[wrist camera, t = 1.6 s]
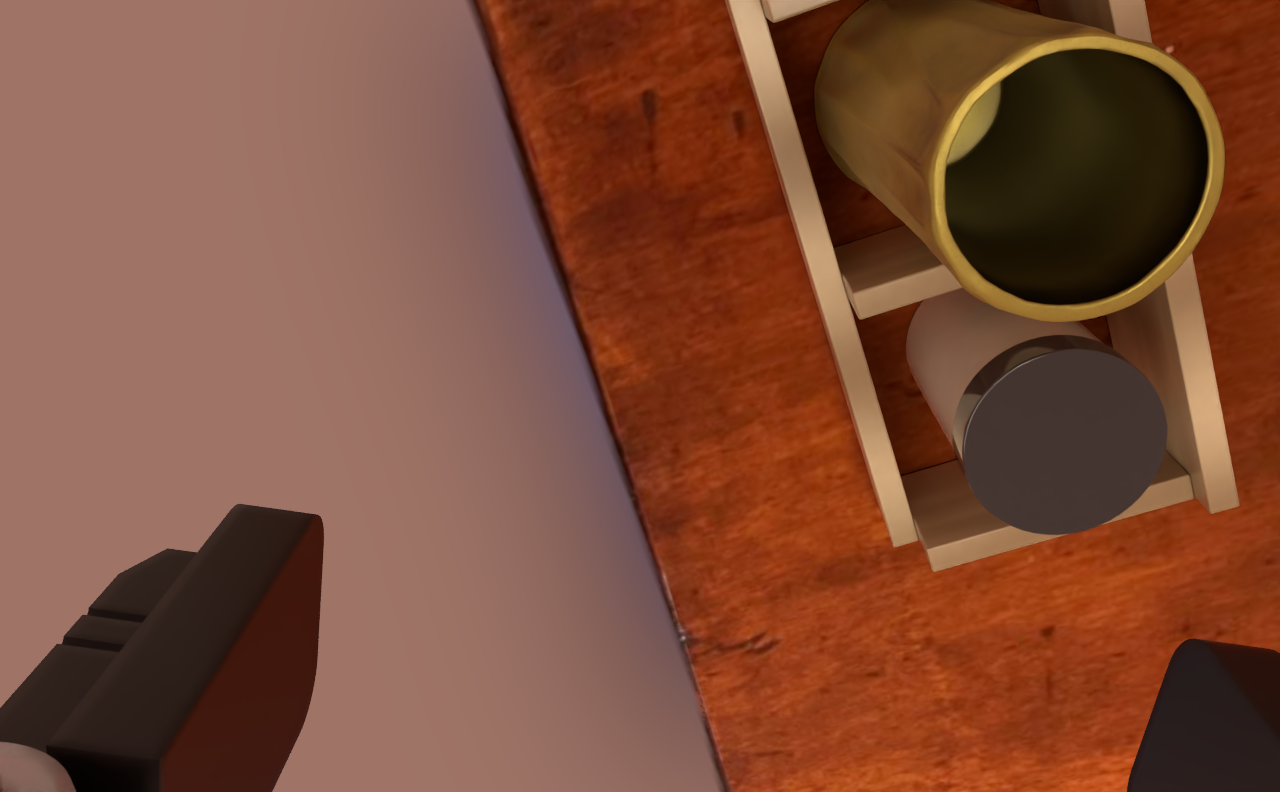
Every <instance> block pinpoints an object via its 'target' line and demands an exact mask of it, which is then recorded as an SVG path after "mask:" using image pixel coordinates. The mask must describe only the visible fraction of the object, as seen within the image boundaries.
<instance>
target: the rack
mask: <svg viewBox="0 0 1280 792" xmlns="http://www.w3.org/2000/svg"><path fill="white" fill-rule="evenodd" d="M836 1H839V0H725V3H726V6H727V10H728V13H729V16H730V20H731V23H732V26H733V30H734V33H735V36H736V39H737V43H738V46H739V49H740V53H741V56H742V59H743V62H744V66H745V69H746V72H747V76H748V79H749V82H750V85H751V89H752V92H753V95H754V99H755V102H756V105H757V108H758V112H759V115H760V118H761V122H762V125H763V128H764V132H765V135H766V138H767V141H768V145H769V148H770V151H771V155H772V158H773V161H774V164H775V168H776V171H777V174H778V178H779V181H780V184H781V187H782V191H783V194H784V197H785V201H786V204H787V207H788V211H789V214H790V217H791V220H792V224H793V227H794V230H795V234H796V237H797V240H798V243H799V247H800V250H801V253H802V257H803V260H804V263H805V266H806V270H807V273H808V276H809V280H810V283H811V286H812V290H813V293H814V296H815V299H816V303H817V306H818V309H819V313H820V316H821V319H822V322H823V326H824V329H825V332H826V336H827V339H828V342H829V345H830V349H831V352H832V355H833V359H834V362H835V365H836V369H837V372H838V375H839V378H840V382H841V385H842V388H843V392H844V395H845V398H846V401H847V405H848V408H849V411H850V415H851V418H852V421H853V424H854V428H855V431H856V434H857V438H858V441H859V444H860V448H861V451H862V454H863V457H864V461H865V464H866V467H867V471H868V474H869V477H870V480H871V484H872V487H873V490H874V494H875V497H876V500H877V503H878V506H879V509H880V512H881V514H882V517H883V520H884V522H885V525H886V528H887V531H888V533H889V536H890V539H891V541H892V544H893V546H894V547H897V546H901V545H904V544H908V543H911V542H915V541H918V540H920V542H921V545H922V547H923V550H924V552H925V554H926V557H927V559H928V562H929V564H930V566H931V569H932V571H933V572H936V571H940V570H943V569H947V568H950V567H954V566H957V565H961V564H964V563H968V562H971V561H975V560H978V559H982V558H986V557H989V556H993V555H996V554H1000V553H1003V552H1007V551H1010V550H1014V549H1017V548H1021V547H1024V546H1028V545H1032V544H1035V543H1039V542H1042V541H1046V540H1049V539H1053V538H1056V537H1060V536H1063V535H1067V534H1063V535H1044V534H1036V533H1031V532H1027V531H1023V530H1020V529H1017V528H1015V527H1012V526H1010V525H1008V524H1006V523H1004V522H1002V521H1000V520H999V519H997V518H996V517H995V516H993V515H992V514H991V513H989V512H988V511H987V510H986V509H985V508H984V507H983V506H982V505H981V503H980V502H979V501H978V499H977V498H976V497H975V495H974V494H973V492H972V490H971V488H970V486H969V485H968V483H967V481H966V479H965V477H964V475H963V474H962V472H961V470H960V468H959V466H958V463H957V460H954V461H951V462H948V463H944V464H941V465H937V466H934V467H931V468H927V469H924V470H921V471H917V472H914V473H910V474H907V475H904V476H900V473H899V469H898V466H897V463H896V459H895V456H894V452H893V449H892V446H891V442H890V439H889V435H888V432H887V429H886V425H885V422H884V418H883V415H882V412H881V408H880V405H879V401H878V398H877V395H876V391H875V388H874V384H873V381H872V378H871V374H870V371H869V367H868V364H867V361H866V357H865V354H864V350H863V347H862V344H861V340H860V337H859V333H858V330H857V327H856V323H855V320H854V316H853V313H852V310H851V306H850V303H849V300H850V302H851V304H852V306H853V308H854V310H855V312H856V314H857V316H858V318H859V319H865V318H868V317H871V316H875V315H878V314H881V313H884V312H887V311H890V310H894V309H897V308H900V307H903V306H906V305H910V304H913V303H916V302H919V301H922V300H925V299H929V298H932V297H935V296H938V295H941V294H944V293H948V292H951V291H954V290H957V289H960V288H963V287H962V286H961V285H960V284H959V283H958V282H957V280H956V279H955V277H954V276H953V275H952V273H951V272H950V271H949V270H948V269H947V268H946V267H945V266H944V265H943V264H942V263H941V262H940V261H939V259H938V258H937V257H936V256H935V255H934V254H933V253H932V252H931V251H930V249H929V248H928V247H927V246H926V244H925V243H924V242H923V241H922V240H921V239H920V238H919V237H918V236H917V235H916V234H915V233H914V232H913V231H912V230H911V229H910V228H909V227H908V226H907V225H903V226H900V227H897V228H894V229H891V230H888V231H885V232H882V233H879V234H876V235H872V236H869V237H866V238H863V239H860V240H857V241H854V242H851V243H848V244H845V245H842V246H839V247H835V248H833V245H832V241H831V238H830V235H829V231H828V228H827V224H826V221H825V218H824V214H823V211H822V207H821V204H820V201H819V197H818V194H817V190H816V187H815V184H814V180H813V177H812V173H811V170H810V167H809V163H808V160H807V156H806V153H805V150H804V146H803V143H802V139H801V136H800V133H799V129H798V126H797V122H796V119H795V116H794V112H793V109H792V105H791V102H790V99H789V95H788V92H787V88H786V85H785V82H784V78H783V75H782V71H781V68H780V65H779V61H778V58H777V54H776V51H775V48H774V44H773V41H772V37H771V34H770V31H769V27H768V24H767V20H766V18H767V19H769V20H770V21H772V22H773V23H777V22H779V21H782V20H785V19H788V18H791V17H794V16H796V15H799V14H802V13H805V12H808V11H811V10H813V9H816V8H819V7H822V6H825V5H828V4H830V3H833V2H836ZM1038 5H1039V9H1040V14H1041V16H1044V17H1048V18H1052V19H1057V20H1062V21H1068V22H1074V23H1079V24H1083V25H1086V26H1090V27H1095V28H1099V29H1102V30H1104V31H1107V32H1110V33H1112V34H1115V35H1118V36H1122V37H1125V38H1129V39H1133V40H1138V41H1144V42H1149V43H1152V38H1151V32H1150V27H1149V22H1148V16H1147V11H1146V6H1145V0H1038ZM1152 44H1153V43H1152ZM848 298H849V299H848ZM1106 317H1107V322H1108V326H1109V331H1110V335H1111V340H1112V345H1113V349H1115V350H1116V351H1118V352H1119V353H1120V354H1121V355H1123V356H1124V357H1125V358H1126V359H1127V360H1129V361H1130V362H1131V363H1132V364H1133V365H1134V366H1135V367H1136V368H1137V369H1139V370H1140V371H1141V372H1142V373H1143V374H1144V375H1145V376H1146V377H1147V379H1148V380H1149V381H1150V382H1151V383H1152V385H1153V386H1154V388H1155V389H1156V391H1157V392H1158V394H1159V397H1160V399H1161V401H1162V403H1163V407H1164V410H1165V413H1166V420H1167V443H1166V449H1165V454H1164V457H1163V460H1162V463H1161V466H1160V468H1159V470H1158V472H1157V474H1156V476H1155V478H1154V479H1153V481H1152V483H1151V484H1150V486H1149V487H1148V488H1147V490H1146V491H1145V492H1144V493H1143V495H1142V496H1141V497H1140V498H1139V499H1138V500H1137V501H1136V502H1135V503H1134V504H1133V505H1132V506H1130V507H1129V508H1128V509H1127V510H1125V511H1124V512H1123V513H1121V514H1120V515H1118V516H1117V517H1115V518H1113V519H1112V520H1110V521H1108V522H1106V523H1109V522H1113V521H1116V520H1120V519H1124V518H1127V517H1131V516H1134V515H1138V514H1141V513H1145V512H1148V511H1152V510H1155V509H1159V508H1163V507H1166V506H1170V505H1173V504H1177V503H1180V502H1184V501H1187V500H1191V499H1194V497H1195V498H1196V499H1197V500H1198V501H1199V502H1200V503H1201V504H1202V505H1203V506H1204V507H1205V508H1206V509H1207V510H1208V511H1209V512H1210V513H1211V514H1213V513H1217V512H1220V511H1224V510H1227V509H1231V508H1234V507H1238V506H1239V500H1238V494H1237V489H1236V484H1235V478H1234V473H1233V468H1232V462H1231V457H1230V452H1229V447H1228V441H1227V436H1226V431H1225V425H1224V420H1223V415H1222V409H1221V404H1220V399H1219V393H1218V388H1217V383H1216V377H1215V372H1214V367H1213V362H1212V356H1211V351H1210V346H1209V340H1208V335H1207V330H1206V324H1205V319H1204V314H1203V308H1202V303H1201V298H1200V292H1199V287H1198V282H1197V277H1196V271H1195V266H1194V261H1193V255H1192V253H1191V254H1190V256H1189V257H1188V258H1187V259H1186V260H1185V262H1184V263H1183V264H1182V266H1181V267H1180V268H1179V269H1178V270H1177V271H1176V272H1175V273H1174V274H1173V275H1172V276H1171V277H1170V278H1168V279H1167V280H1166V281H1165V282H1164V283H1162V284H1161V285H1160V286H1159V287H1158V288H1156V289H1155V290H1154V291H1152V292H1151V293H1150V294H1149V295H1147V296H1146V297H1144V298H1143V299H1141V300H1140V301H1138V302H1137V303H1135V304H1133V305H1131V306H1129V307H1126V308H1124V309H1122V310H1119V311H1116V312H1113V313H1110V314H1107V315H1106ZM1106 523H1104V524H1106Z"/></svg>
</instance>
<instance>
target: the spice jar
mask: <svg viewBox="0 0 1280 792" xmlns="http://www.w3.org/2000/svg"><path fill="white" fill-rule="evenodd" d="M906 357H907V362H908V367H909V369H910V372H911V375H912V377H913V379H914V381H915V382H916V384H917V386H918V388H919V390H920V391H921V393H922V395H923V397H924V398H925V400H926V402H927V404H928V405H929V407H930V409H931V411H932V413H933V414H934V416H935V418H936V420H937V421H938V423H939V425H940V427H941V429H942V430H943V432H944V434H945V436H946V437H947V439H948V441H949V443H950V445H951V446H952V448H953V450H954V453H955V457H956V460H957V463H958V466H959V468H960V470H961V472H962V474H963V475H964V477H965V479H966V481H967V483H968V485H969V486H970V488H971V490H972V492H973V494H974V495H975V497H976V498H977V499H978V501H979V502H980V503H981V505H982V506H983V507H984V508H985V509H986V510H987V511H988V512H989V513H991V514H992V515H993V516H995V517H996V518H997V519H999V520H1000V521H1002V522H1004V523H1006V524H1008V525H1010V526H1012V527H1015V528H1017V529H1020V530H1023V531H1027V532H1031V533H1036V534H1044V535H1063V534H1072V533H1077V532H1081V531H1086V530H1089V529H1091V528H1094V527H1097V526H1100V525H1102V524H1104V523H1106V522H1108V521H1110V520H1112V519H1113V518H1115V517H1117V516H1118V515H1120V514H1121V513H1123V512H1124V511H1125V510H1127V509H1128V508H1129V507H1130V506H1132V505H1133V504H1134V503H1135V502H1136V501H1137V500H1138V499H1139V498H1140V497H1141V496H1142V495H1143V493H1144V492H1145V491H1146V490H1147V488H1148V487H1149V486H1150V484H1151V483H1152V481H1153V479H1154V478H1155V476H1156V474H1157V472H1158V470H1159V468H1160V466H1161V463H1162V460H1163V457H1164V454H1165V449H1166V443H1167V420H1166V413H1165V410H1164V407H1163V403H1162V401H1161V399H1160V397H1159V394H1158V392H1157V391H1156V389H1155V388H1154V386H1153V385H1152V383H1151V382H1150V381H1149V380H1148V379H1147V377H1146V376H1145V375H1144V374H1143V373H1142V372H1141V371H1140V370H1139V369H1137V368H1136V367H1135V366H1134V365H1133V364H1132V363H1131V362H1130V361H1129V360H1127V359H1126V358H1125V357H1124V356H1123V355H1121V354H1120V353H1119V352H1118V351H1116V350H1115V349H1113V348H1111V347H1109V346H1108V345H1106V344H1104V343H1103V342H1101V341H1100V340H1099V339H1098V338H1097V337H1096V336H1095V335H1094V334H1093V333H1092V332H1090V331H1089V330H1088V329H1087V328H1086V327H1085V326H1084V325H1083V324H1082V323H1081V322H1080V321H1069V322H1049V321H1039V320H1035V319H1031V318H1027V317H1023V316H1019V315H1016V314H1013V313H1010V312H1006V311H1003V310H1000V309H997V308H995V307H993V306H991V305H989V304H987V303H985V302H982V301H981V300H979V299H977V298H976V297H974V296H973V295H971V294H970V293H969V292H967V291H966V290H965V289H964V288H960V289H957V290H954V291H951V292H948V293H944V294H941V295H938V296H935V297H932V298H929V299H925V300H923V301H922V303H921V304H920V306H919V307H918V309H917V310H916V312H915V314H914V316H913V318H912V320H911V323H910V326H909V329H908V334H907V339H906Z"/></svg>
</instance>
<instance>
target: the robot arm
mask: <svg viewBox="0 0 1280 792" xmlns="http://www.w3.org/2000/svg"><path fill="white" fill-rule="evenodd" d="M323 546H324V529H323V523H322V519H321V517H320V516H319V515H316V514H308V513H301V512H294V511H287V510H279V509H272V508H265V507H258V506H251V505H244V504H237V505H235V506H234V507H233V508H232V509H231V510H230V512H229V513H228V514H227V515H226V517H225V518H224V519H223V521H222V522H221V523H220V525H219V526H218V527H217V528H216V530H215V531H214V532H213V533H212V535H211V536H210V537H209V539H208V540H207V541H206V542H205V543H204V545H203V546H202V548H201V549H200V550H199V551H198V552H197V553H196V552H188V551H182V550H174V549H166V550H164V551H162V552H160V553H158V554H156V555H154V556H152V557H150V558H149V559H147V560H145V561H143V562H141V563H139V564H137V565H135V566H133V567H132V568H129V569H128V570H126V571H124V572H122V573H120V574H118V575H117V577H116V578H115V579H114V580H113V581H112V582H111V583H110V585H109V586H108V587H107V588H106V589H105V590H104V591H103V593H102V594H101V595H100V596H99V597H98V598H97V599H96V600H95V601H94V603H93V604H92V605H91V606H90V607H89V611H88V614H87V615H82V616H81V617H80V619H79V620H78V621H77V622H76V623H75V624H74V625H73V626H72V628H71V629H70V630H69V631H68V632H67V633H66V634H65V636H64V639H63V642H62V644H56V646H55V647H54V648H53V649H52V650H51V651H50V653H49V654H48V655H47V656H46V657H45V658H44V659H43V660H42V661H41V663H40V664H39V665H38V666H37V667H36V668H35V669H34V671H33V672H32V673H31V674H30V675H29V676H28V677H27V678H26V680H25V681H24V682H23V683H22V684H21V685H20V687H18V689H17V690H16V691H15V692H14V693H13V694H12V695H11V697H10V698H9V699H8V700H7V701H6V702H5V704H4V705H3V706H2V707H1V708H0V792H272V791H273V789H274V787H275V785H276V782H277V780H278V778H279V776H280V774H281V772H282V769H283V768H284V765H285V763H286V761H287V759H288V757H289V755H290V753H291V751H292V749H293V747H294V744H295V742H296V740H297V738H298V736H299V734H300V731H301V729H302V727H303V724H304V721H305V718H306V715H307V712H308V709H309V705H310V701H311V697H312V692H313V687H314V681H315V675H316V668H317V656H318V638H319V619H320V601H321V583H322V564H323ZM1127 792H1280V653H1278V652H1276V651H1275V650H1271V649H1265V648H1258V647H1251V646H1244V645H1237V644H1229V643H1222V642H1215V641H1208V640H1201V639H1189V640H1186V641H1184V642H1183V643H1182V644H1181V645H1180V646H1179V647H1178V648H1177V649H1176V651H1175V652H1174V654H1173V656H1172V658H1171V660H1170V663H1169V665H1168V668H1167V671H1166V674H1165V677H1164V680H1163V682H1162V685H1161V688H1160V691H1159V694H1158V696H1157V699H1156V702H1155V705H1154V708H1153V711H1152V713H1151V716H1150V719H1149V722H1148V725H1147V728H1146V730H1145V733H1144V736H1143V739H1142V742H1141V745H1140V747H1139V750H1138V753H1137V756H1136V759H1135V762H1134V764H1133V767H1132V770H1131V774H1130V777H1129V782H1128V788H1127Z"/></svg>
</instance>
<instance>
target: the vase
mask: <svg viewBox="0 0 1280 792" xmlns="http://www.w3.org/2000/svg"><path fill="white" fill-rule="evenodd" d="M814 105H815V116H816V123H817V129H818V132H819V134H820V137H821V139H822V142H823V144H824V146H825V148H826V149H827V151H828V153H829V155H830V156H831V158H832V159H833V161H834V162H835V164H836V165H837V166H838V167H839V169H840V170H841V171H842V172H843V173H844V174H845V175H846V177H848V178H849V179H851V180H852V181H854V182H856V183H857V184H859V185H860V186H862V187H864V188H866V189H867V190H868V191H869V192H871V193H872V194H873V195H874V196H875V197H876V198H877V199H878V200H880V201H881V202H882V203H883V204H884V205H885V206H886V207H887V208H888V209H889V210H890V211H891V212H892V213H893V214H894V215H895V216H897V217H898V218H899V219H900V220H901V221H903V222H904V223H905V224H906V225H907V226H908V227H909V228H910V229H911V230H912V231H913V232H914V233H915V234H916V235H917V236H918V237H919V238H920V239H921V240H922V241H923V242H924V243H925V244H926V246H927V247H928V248H929V249H930V251H931V252H932V253H933V254H934V255H935V256H936V257H937V258H938V259H939V261H940V262H941V263H942V264H943V265H944V266H945V267H946V268H947V269H948V270H949V271H950V272H951V273H952V275H953V276H954V277H955V279H956V280H957V282H958V283H959V284H960V285H961V286H962V287H963V288H964V289H965V290H966V291H967V292H969V293H970V294H971V295H973V296H974V297H976V298H977V299H979V300H981V301H982V302H985V303H987V304H989V305H991V306H993V307H995V308H997V309H1000V310H1003V311H1006V312H1010V313H1013V314H1016V315H1019V316H1023V317H1027V318H1031V319H1035V320H1039V321H1049V322H1069V321H1079V320H1085V319H1091V318H1096V317H1099V316H1103V315H1107V314H1110V313H1113V312H1116V311H1119V310H1122V309H1124V308H1126V307H1129V306H1131V305H1133V304H1135V303H1137V302H1138V301H1140V300H1141V299H1143V298H1144V297H1146V296H1147V295H1149V294H1150V293H1151V292H1152V291H1154V290H1155V289H1156V288H1158V287H1159V286H1160V285H1161V284H1162V283H1164V282H1165V281H1166V280H1167V279H1168V278H1170V277H1171V276H1172V275H1173V274H1174V273H1175V272H1176V271H1177V270H1178V269H1179V268H1180V267H1181V266H1182V264H1183V263H1184V262H1185V260H1186V259H1187V258H1188V257H1189V256H1190V254H1191V253H1192V251H1193V250H1194V248H1195V247H1196V246H1197V244H1198V243H1199V241H1200V239H1201V237H1202V236H1203V234H1204V232H1205V230H1206V228H1207V226H1208V224H1209V222H1210V220H1211V218H1212V216H1213V214H1214V211H1215V209H1216V207H1217V204H1218V202H1219V198H1220V195H1221V191H1222V187H1223V180H1224V170H1225V149H1224V139H1223V134H1222V129H1221V126H1220V124H1219V121H1218V118H1217V116H1216V113H1215V111H1214V108H1213V106H1212V104H1211V101H1210V99H1209V97H1208V96H1207V94H1206V92H1205V90H1204V88H1203V86H1202V85H1201V83H1200V82H1199V80H1198V79H1197V78H1196V76H1195V75H1194V74H1193V73H1192V72H1191V71H1190V70H1189V69H1188V68H1187V67H1185V66H1184V65H1183V64H1182V63H1181V62H1179V61H1178V60H1177V59H1175V58H1174V57H1172V56H1171V55H1170V54H1168V53H1166V52H1165V51H1163V50H1161V49H1160V48H1158V47H1157V46H1155V45H1154V44H1152V43H1149V42H1144V41H1138V40H1133V39H1129V38H1125V37H1122V36H1118V35H1115V34H1112V33H1110V32H1107V31H1104V30H1102V29H1099V28H1095V27H1090V26H1086V25H1083V24H1079V23H1074V22H1068V21H1062V20H1057V19H1052V18H1048V17H1044V16H1041V15H1038V14H1034V13H1031V12H1027V11H1023V10H1019V9H1015V8H1012V7H1009V6H1006V5H1003V4H1001V3H998V2H995V1H991V0H869V1H867V2H866V3H864V4H863V5H862V6H861V7H859V8H858V9H857V10H856V11H855V12H854V13H852V14H851V15H850V16H849V17H848V19H847V20H846V21H845V22H844V23H843V24H842V25H841V26H840V27H839V29H838V30H837V31H836V33H835V34H834V36H833V37H832V39H831V41H830V43H829V45H828V47H827V49H826V52H825V55H824V57H823V60H822V63H821V66H820V69H819V72H818V75H817V78H816V82H815V86H814Z"/></svg>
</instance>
